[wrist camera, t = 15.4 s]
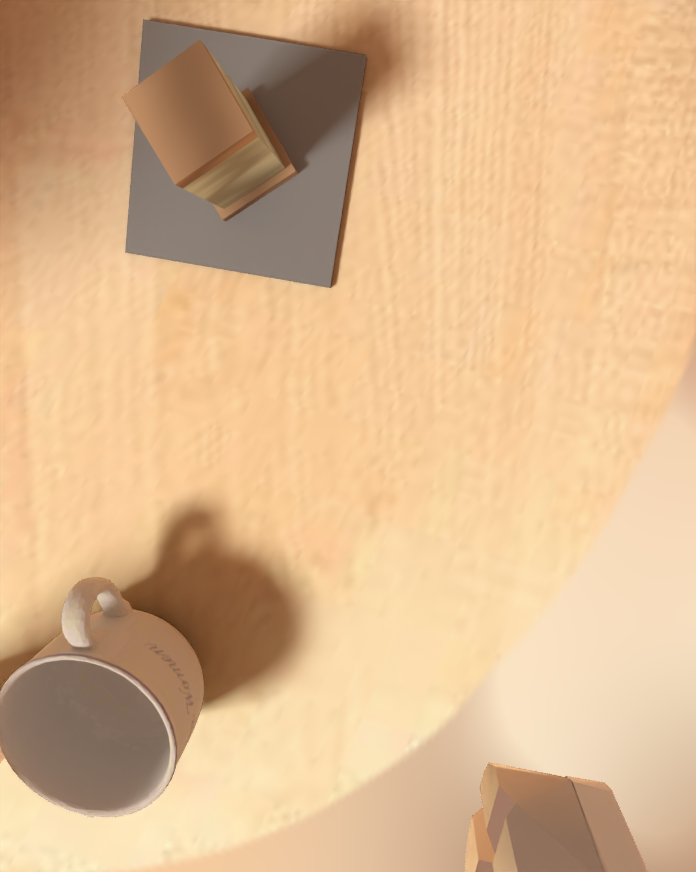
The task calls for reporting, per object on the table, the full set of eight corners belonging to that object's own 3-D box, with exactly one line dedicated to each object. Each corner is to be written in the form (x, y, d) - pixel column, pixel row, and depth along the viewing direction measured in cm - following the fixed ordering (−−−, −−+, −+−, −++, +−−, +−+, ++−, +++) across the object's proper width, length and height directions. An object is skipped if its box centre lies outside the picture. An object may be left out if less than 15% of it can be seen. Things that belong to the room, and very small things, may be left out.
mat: (128, 252, 36) (125, 252, 35) (146, 22, 33) (143, 19, 32) (330, 288, 35) (329, 287, 35) (366, 57, 32) (366, 54, 32)
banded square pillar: (226, 221, 34) (172, 198, 26) (179, 142, 34) (108, 93, 25) (298, 173, 33) (265, 134, 25) (251, 92, 33) (202, 23, 24)
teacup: (205, 742, 43) (163, 841, 35) (56, 709, 43) (-18, 800, 35) (234, 562, 40) (195, 628, 32) (73, 528, 40) (-5, 585, 32)
